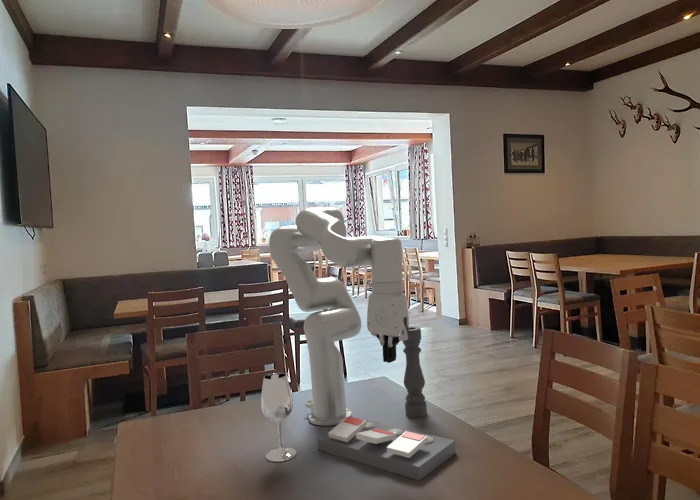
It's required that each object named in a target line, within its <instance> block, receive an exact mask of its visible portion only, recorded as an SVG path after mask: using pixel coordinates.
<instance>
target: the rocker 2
mask: <svg viewBox="0 0 700 500" xmlns="http://www.w3.org/2000/svg"><path fill="white" fill-rule="evenodd" d="M356 439H360V440H364V441H367V442H371V443H375V444H377V443H381V442H385V441H389V440H393V439H396V434H395V433H393V432H389V431H385V430H380V429H374V430H369V431H365V432H360V433H356Z"/></svg>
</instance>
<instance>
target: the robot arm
mask: <svg viewBox="0 0 700 500" xmlns="http://www.w3.org/2000/svg"><path fill="white" fill-rule="evenodd" d="M294 221H295V224H294V225H285V226H281V227H278V228H276V229H274V230H273V231H272V232H271V233H270V236H269V241H268V244H269V247H268V248H269V252H270V255H271V258H272V260H273V262H274V264H275V266H276V267H277V268H278V270H279V271H280V272H281V274H282V276H283V277H284V279H285V281H286V283H287V286H288V288H289V290H290V292H291V294H292V297H293V298H294V300H295V303H296V304H297V306H298V308H299V309H300V310H301V311H302V312H305V313H309V314H308V316H306V318H305V320H304V322H303V332H304V336H305V341H306V345H307V349H308V350H307V351H308V356H309V367H310V378H311V380H310V381H311V392H312V398H309V399H308V401H307V402H306V403H305V408H307V409H310V411H311V413H309V415H308V421H309V422H310V423H311V424H312V425H316V426H321V427H322V426H323V427H328V426H337V425H338V424H339V423H341V422H342V421H343V420H344V419H345V418H346V417H348V416H349V417H352V416H353V413H352V410H351V409H349V408H347V403H346V389H345V377H344V364H343V363H344V362H343V356H342V352H341V351H340V350H339V348H338V347H337V346H336V344H335V343H337V342H339V341H342V340H343V341H344V340H347V339H351V338H354V337H356V336H358V335H359V333H360V332H361V330H362V320H361V316H360V313H359V311H358V309H357V308H356V307H357V306H356V305H355V303H354V301H353V299H352V297H351V296H350V293H349V292H348V290H347V288H346V286H345V284H344V283H343V282H342V281H341V280H340V279H339V278H336V277H330V276H329V277H317V276H316V274H315V273H314V271H313V269H312V267H311V265H310V264H309V263H308V262H307V261H306V260H305V259H303V258H302V257H301V256H299V255H298V254H297V253H306V252H316V251H320V250H321V251H322V253H323V256H324V257H325V258H326V259H327V260H328V261H330V262H331V263H334V264H336V265H337V266H339V267H341V268H346V269H347V268H349V269H350V268H357V267H364V266H371V281H370V282H369V287H370V288H372V290H371V291H372V292H370V293H369V296H368V300H367V311H366V312H367V316H366V326H367V331H368V332H370V335H371V336H373V337H375V338H377V340H378V341H379V344H380V346H382V358H383V359H382V360H383V363H388V364H390V363H393V362H394V361H396V360H397V345H398V344H399V343H400V342H403V341H405V340H407V339H408V335H407V332H408V331H409V327H410V318H409V317H410V316H409V307H408V302H407V296H406V294H405V293H404V279H403V276H404V275H403V243H402V241H401V239H400V238H398V237H387V236H386V237H384V236H383V237H382V236H381V235H362V236H350V237H347V231H348V230H347V227H346V224H345V217H344V215H343V213H342V212H341V211H340V210H339V209H338V208H336V207H333V206H331V207H329V206H328V207H327V206H326V207H323V206H322V207H308V208H304V209H302V210H301V211H299V212H298V214H297V215H296V217H295V220H294ZM310 312H313V313H310Z"/></svg>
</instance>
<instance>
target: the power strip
mask: <svg viewBox="0 0 700 500" xmlns="http://www.w3.org/2000/svg"><path fill="white" fill-rule="evenodd" d="M357 419H362V420H366V423H367V425H366V426H365V427H364V428H363V429H362V430H361V431H359V432H358V433H360V432H365V431H369V430H374V429H380V430H385V431H389V432H393V433H395V434H396V439H397V438H398V437H399V436H401V435H402V434H403V433H404V432H405V431H408V432H413V433H417V434H421V435H425V436H428V442H427V443H425V444H424V445H423V446H422V447H421V448H420V449H419V450H418V451H417V452H416V453H415V454H413V455H412V456H411V457H410V458H407V457H404V456H400V455H396V454H393V453H389V452H387V446H389V445H390V444H391V443H392V442H393V441H395V440H396V439H393V440H389V441H385V442H381V443H377V444H375V443H371V442H367V441H364V440H360V439H356V435H355V436H354V437H353V438H352V439H351V440H349V441H348V442H345V441H341V440H337V439H334V438H330V437H329V435H328V433H329V432H327V433H325V434H323V435H321V436H319V437H317V438H316V439H317V441H316V442H317V451H320V452H324V453H326V454H329V455H333V456H337V457H339V458H343V459H346V460H348V461H349V460H350V461H353V462H355V463H359V464H363V465H366V466H370V467H373V468H377V469H379V470H383V471H386V472H389V473H393V474H396V475H400V476H403V477H406V478H410V479H412V480H416V481H422V479H424V478H425V477H426V476H428V475H429V474H431V472H433V471H434V470H436V468H438V467H440V466H441V465H442V464H443V463H445V462H446V461H448V460H449V458H451V457H452V456H454V455H455V454H456V453H457V451H456V440H454V439H450V438H446V437H443V436H436V435H432V434H429V433H426V432H425V433H424V432H420V431H416V430H412V429H407V428H403V427H399V426H395V425H390V424H386V423H381V422H378V421H377V422H376V421H374V420H373V421H372V420H369V419H366V418H365V419H364V418H360V417H357Z"/></svg>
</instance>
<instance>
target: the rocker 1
mask: <svg viewBox="0 0 700 500" xmlns="http://www.w3.org/2000/svg"><path fill="white" fill-rule="evenodd" d="M357 418H358V417H357ZM357 418H356V417H349V416H348V417H346V418H345V419H344V420H343V421H342V422H341V423H339V424H338V425H335V427H334V428H331V430H330V431H329V432H327V433H328V435H329V437H330V438H334V439H337V440H341V441H345V442H348V441H349V440H351V439H352V438H353V437H354V436H355V435H356V433H358V432H359V431H361V430H362V429H363V428H364V427H365V426H366V425H367V423H366V420H367V419H365V420H362V419H363V418H360V419H357Z"/></svg>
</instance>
